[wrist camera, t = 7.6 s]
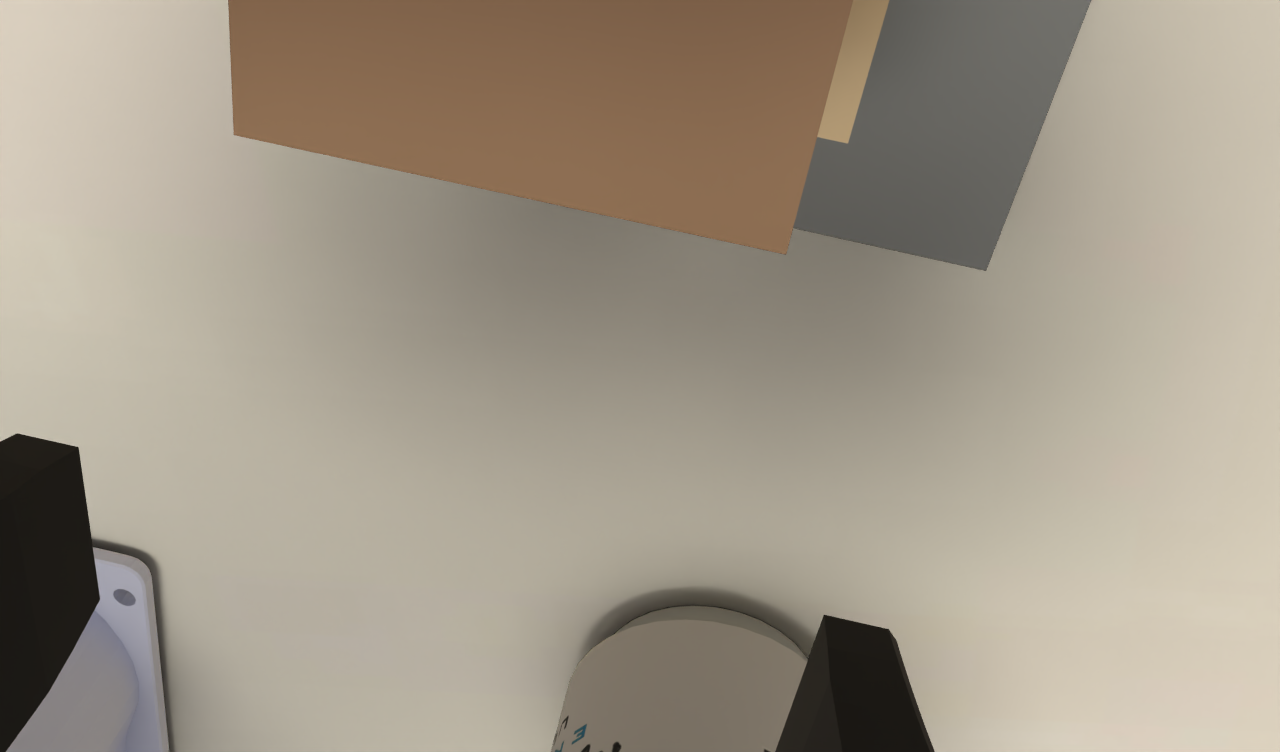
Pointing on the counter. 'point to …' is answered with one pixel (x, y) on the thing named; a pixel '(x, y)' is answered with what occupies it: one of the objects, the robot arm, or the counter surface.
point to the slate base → (943, 127)
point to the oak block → (852, 68)
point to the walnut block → (557, 99)
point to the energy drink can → (683, 686)
